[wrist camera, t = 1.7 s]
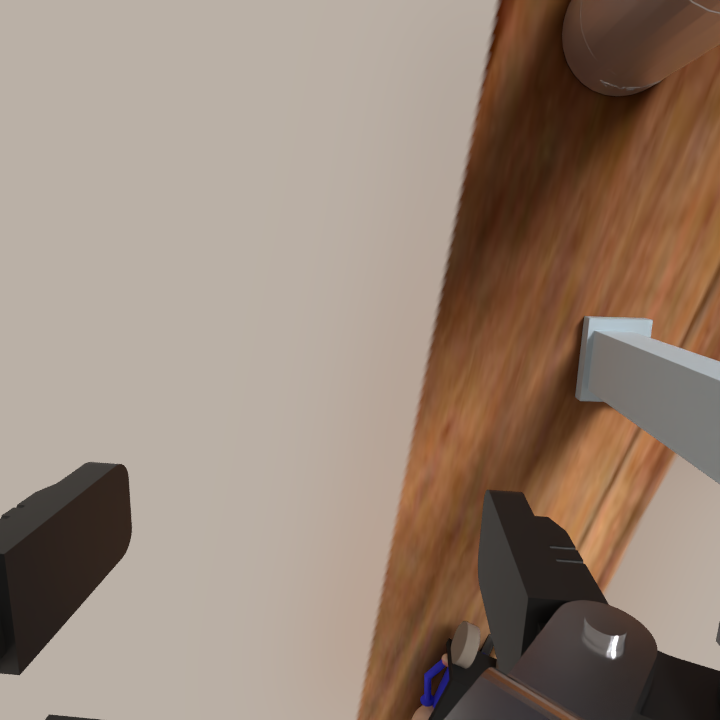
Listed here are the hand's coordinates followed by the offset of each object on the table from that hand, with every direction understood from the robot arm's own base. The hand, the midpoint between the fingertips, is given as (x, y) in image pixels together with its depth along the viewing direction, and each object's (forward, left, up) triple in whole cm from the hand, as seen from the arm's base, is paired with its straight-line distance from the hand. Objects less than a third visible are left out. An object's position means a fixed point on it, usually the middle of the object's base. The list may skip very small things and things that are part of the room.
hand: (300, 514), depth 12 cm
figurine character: (+35, +10, -34) cm, 50 cm away
